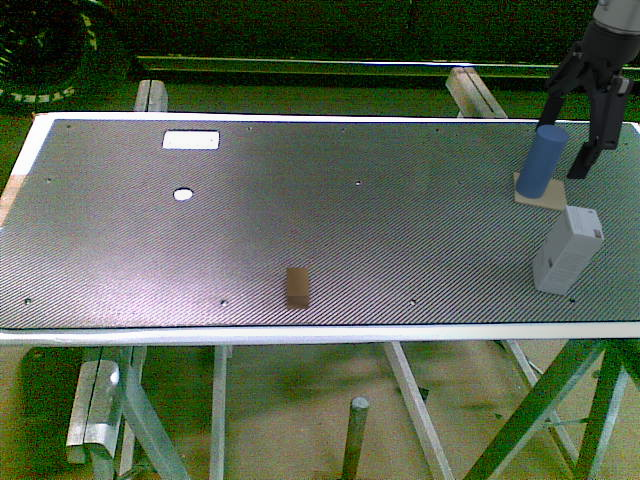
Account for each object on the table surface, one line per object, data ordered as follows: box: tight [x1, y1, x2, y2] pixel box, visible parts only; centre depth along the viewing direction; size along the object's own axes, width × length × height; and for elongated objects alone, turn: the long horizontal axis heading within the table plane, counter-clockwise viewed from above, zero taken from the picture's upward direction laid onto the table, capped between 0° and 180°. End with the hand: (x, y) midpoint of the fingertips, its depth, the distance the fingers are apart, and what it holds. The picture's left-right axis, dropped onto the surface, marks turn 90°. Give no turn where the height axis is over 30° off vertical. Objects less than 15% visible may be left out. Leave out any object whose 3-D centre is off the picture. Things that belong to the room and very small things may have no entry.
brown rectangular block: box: [286, 267, 310, 310], centre depth 66 cm, size 3×5×3 cm, turn 3°
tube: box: [515, 124, 570, 199], centre depth 82 cm, size 12×5×5 cm
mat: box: [512, 171, 568, 213], centre depth 86 cm, size 9×9×1 cm
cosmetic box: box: [531, 205, 605, 296], centre depth 67 cm, size 6×4×12 cm
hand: (557, 153), depth 81 cm, fingers open, 13 cm apart
